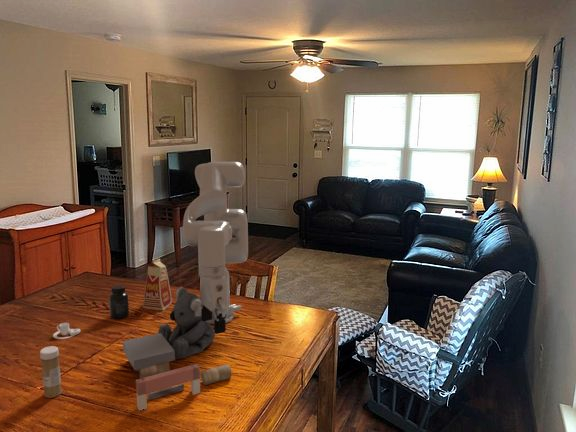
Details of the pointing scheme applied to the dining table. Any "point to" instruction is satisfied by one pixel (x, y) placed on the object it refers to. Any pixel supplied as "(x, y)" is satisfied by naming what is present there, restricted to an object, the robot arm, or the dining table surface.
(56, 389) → the sprinkles bottle
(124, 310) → the supplement bottle
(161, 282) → the milk carton
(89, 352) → the dining table surface
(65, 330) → the white looped ring piece
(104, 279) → the dining table surface
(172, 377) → the pink u-shaped frame
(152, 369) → the track
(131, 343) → the slab
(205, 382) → the roller
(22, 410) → the dining table surface
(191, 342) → the koala plush
